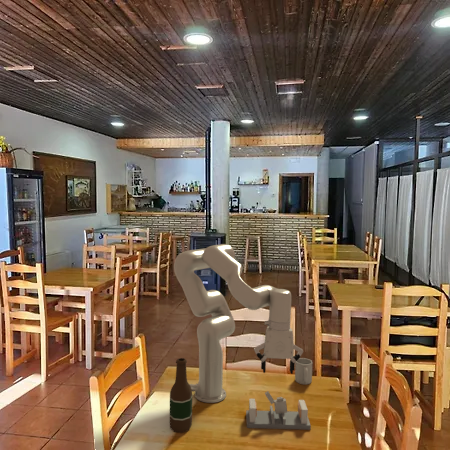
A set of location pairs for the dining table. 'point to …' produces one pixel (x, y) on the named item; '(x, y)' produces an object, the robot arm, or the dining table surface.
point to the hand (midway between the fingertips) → (277, 371)
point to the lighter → (277, 403)
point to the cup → (303, 371)
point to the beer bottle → (181, 400)
